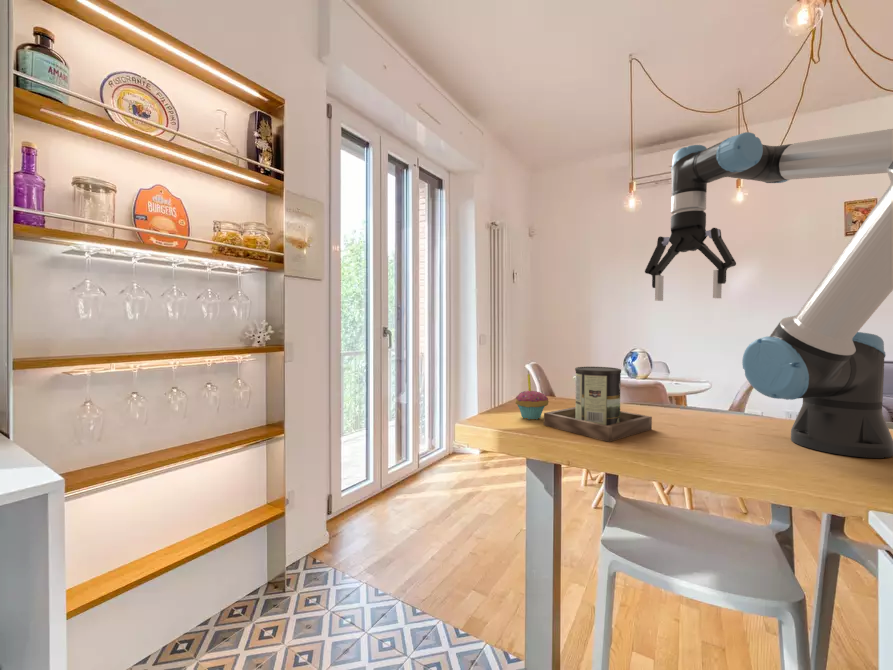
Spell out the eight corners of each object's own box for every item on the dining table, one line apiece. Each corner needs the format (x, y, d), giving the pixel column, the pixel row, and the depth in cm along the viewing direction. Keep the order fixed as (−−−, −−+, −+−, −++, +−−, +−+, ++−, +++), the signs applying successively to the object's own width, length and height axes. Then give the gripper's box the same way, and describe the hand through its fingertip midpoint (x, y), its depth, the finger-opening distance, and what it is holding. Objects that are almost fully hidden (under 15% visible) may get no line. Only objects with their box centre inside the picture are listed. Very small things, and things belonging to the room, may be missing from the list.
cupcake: (509, 415, 112) (510, 370, 112) (537, 413, 115) (538, 369, 114) (524, 422, 104) (525, 374, 104) (554, 420, 106) (555, 373, 106)
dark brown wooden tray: (651, 429, 97) (651, 416, 97) (608, 441, 87) (608, 427, 87) (587, 415, 111) (587, 404, 111) (543, 425, 101) (544, 412, 101)
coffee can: (610, 422, 104) (611, 366, 104) (627, 433, 94) (628, 370, 94) (569, 422, 105) (570, 366, 104) (581, 432, 94) (582, 370, 94)
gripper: (753, 204, 95) (751, 297, 95) (646, 224, 115) (645, 301, 116) (741, 198, 90) (738, 296, 91) (631, 220, 111) (630, 301, 111)
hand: (686, 299), depth 103 cm, fingers open, 13 cm apart
